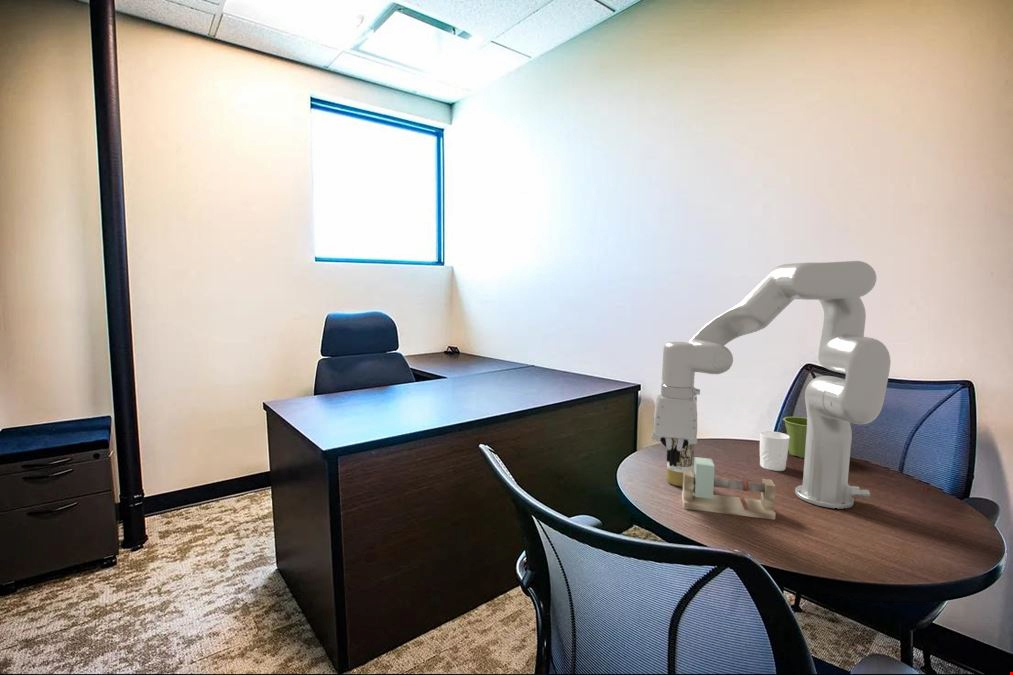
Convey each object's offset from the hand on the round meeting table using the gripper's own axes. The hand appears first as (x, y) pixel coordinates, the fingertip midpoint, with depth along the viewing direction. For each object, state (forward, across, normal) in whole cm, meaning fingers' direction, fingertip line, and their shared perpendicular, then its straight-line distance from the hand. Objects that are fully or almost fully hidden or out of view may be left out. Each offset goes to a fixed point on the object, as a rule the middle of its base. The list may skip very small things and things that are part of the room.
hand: (672, 464), depth 122 cm
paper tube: (+10, -3, -13) cm, 17 cm away
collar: (+6, -7, 0) cm, 10 cm away
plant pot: (+9, -43, -49) cm, 66 cm away
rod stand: (+9, -13, 0) cm, 16 cm away
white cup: (+9, -31, -34) cm, 47 cm away
